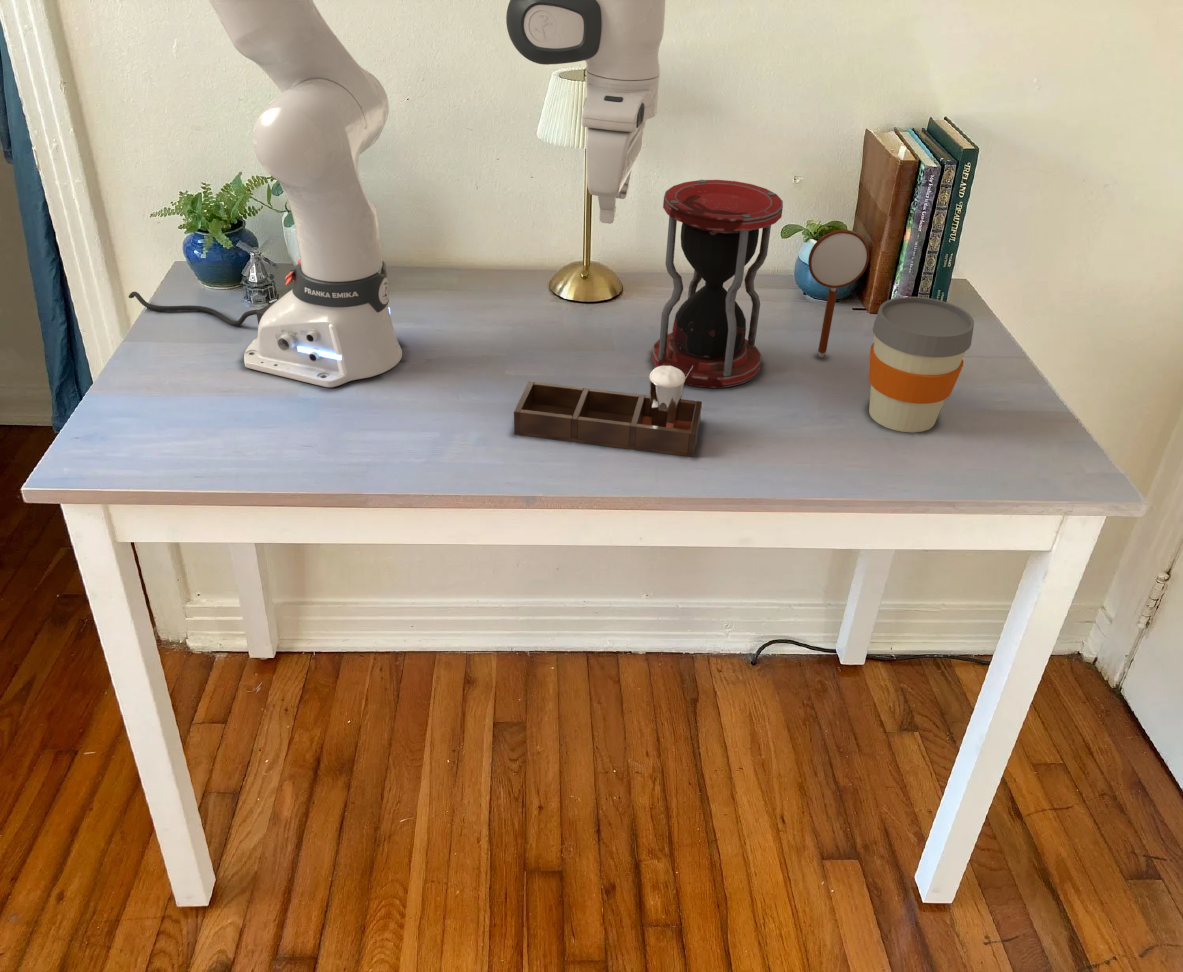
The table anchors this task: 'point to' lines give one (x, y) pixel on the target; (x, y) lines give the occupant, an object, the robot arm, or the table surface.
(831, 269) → the magnifying glass
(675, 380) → the milkshake
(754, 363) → the hourglass
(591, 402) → the compartment tray
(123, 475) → the table surface
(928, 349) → the reusable coffee cup
